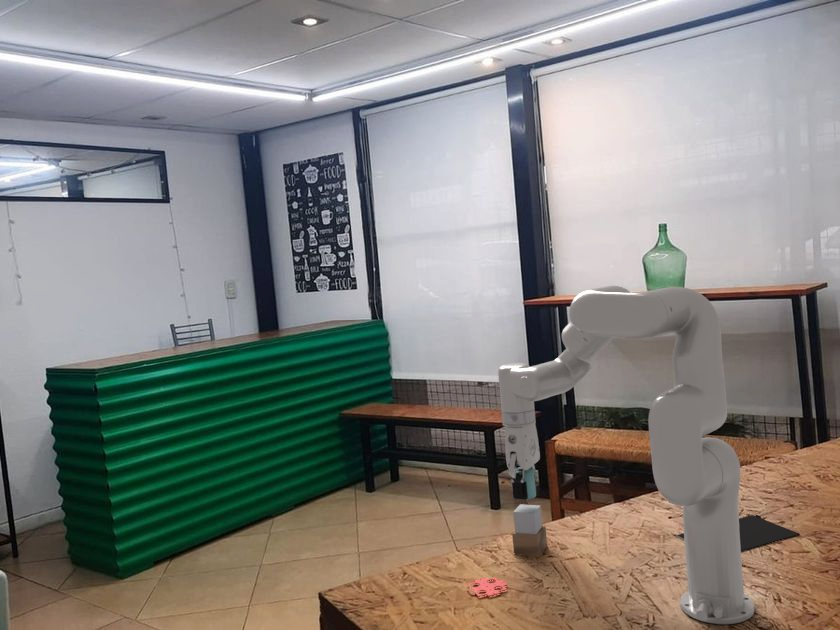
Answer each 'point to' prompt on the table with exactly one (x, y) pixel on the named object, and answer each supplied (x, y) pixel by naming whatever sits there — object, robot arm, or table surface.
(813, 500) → the table surface
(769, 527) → the black flat plate
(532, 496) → the teal cylinder
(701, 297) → the robot arm
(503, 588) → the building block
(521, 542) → the walnut base block
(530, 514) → the grey top block
